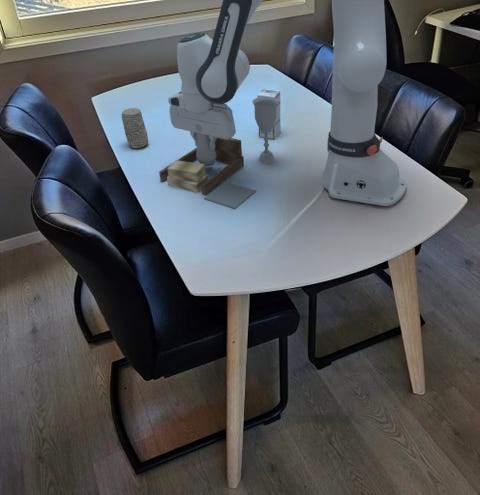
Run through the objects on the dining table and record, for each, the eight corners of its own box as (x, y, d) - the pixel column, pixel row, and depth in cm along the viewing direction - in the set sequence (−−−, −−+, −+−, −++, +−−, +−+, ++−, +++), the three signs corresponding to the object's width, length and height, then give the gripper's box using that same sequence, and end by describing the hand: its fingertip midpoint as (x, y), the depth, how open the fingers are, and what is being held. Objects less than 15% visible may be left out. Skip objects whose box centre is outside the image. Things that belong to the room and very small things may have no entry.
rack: (244, 165, 143) (242, 140, 138) (205, 195, 130) (202, 168, 126) (201, 154, 150) (198, 130, 145) (160, 181, 138) (156, 155, 133)
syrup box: (281, 133, 159) (281, 89, 150) (274, 140, 155) (273, 96, 146) (265, 130, 161) (264, 87, 152) (258, 138, 157) (256, 94, 148)
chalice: (283, 157, 145) (282, 99, 134) (271, 167, 141) (270, 107, 130) (262, 152, 149) (260, 95, 138) (250, 161, 144) (247, 103, 133)
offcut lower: (208, 184, 136) (207, 175, 134) (197, 194, 132) (196, 184, 130) (180, 177, 140) (178, 168, 138) (168, 186, 136) (166, 177, 135)
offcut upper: (205, 173, 135) (204, 164, 133) (198, 182, 131) (196, 172, 129) (177, 169, 138) (176, 160, 136) (169, 178, 134) (167, 168, 132)
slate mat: (255, 191, 130) (255, 190, 130) (235, 209, 124) (234, 207, 124) (225, 182, 135) (225, 181, 135) (204, 199, 129) (204, 197, 129)
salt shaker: (214, 168, 137) (209, 125, 129) (195, 168, 138) (189, 125, 130) (219, 159, 142) (214, 116, 134) (200, 158, 143) (194, 116, 135)
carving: (135, 140, 161) (128, 105, 154) (153, 144, 158) (147, 108, 151) (123, 148, 157) (115, 112, 150) (141, 152, 154) (134, 116, 146)
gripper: (238, 101, 125) (241, 149, 134) (178, 90, 135) (184, 136, 144) (224, 109, 121) (228, 159, 130) (163, 97, 131) (171, 144, 140)
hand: (205, 147), depth 137 cm, fingers closed on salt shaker, 3 cm apart
